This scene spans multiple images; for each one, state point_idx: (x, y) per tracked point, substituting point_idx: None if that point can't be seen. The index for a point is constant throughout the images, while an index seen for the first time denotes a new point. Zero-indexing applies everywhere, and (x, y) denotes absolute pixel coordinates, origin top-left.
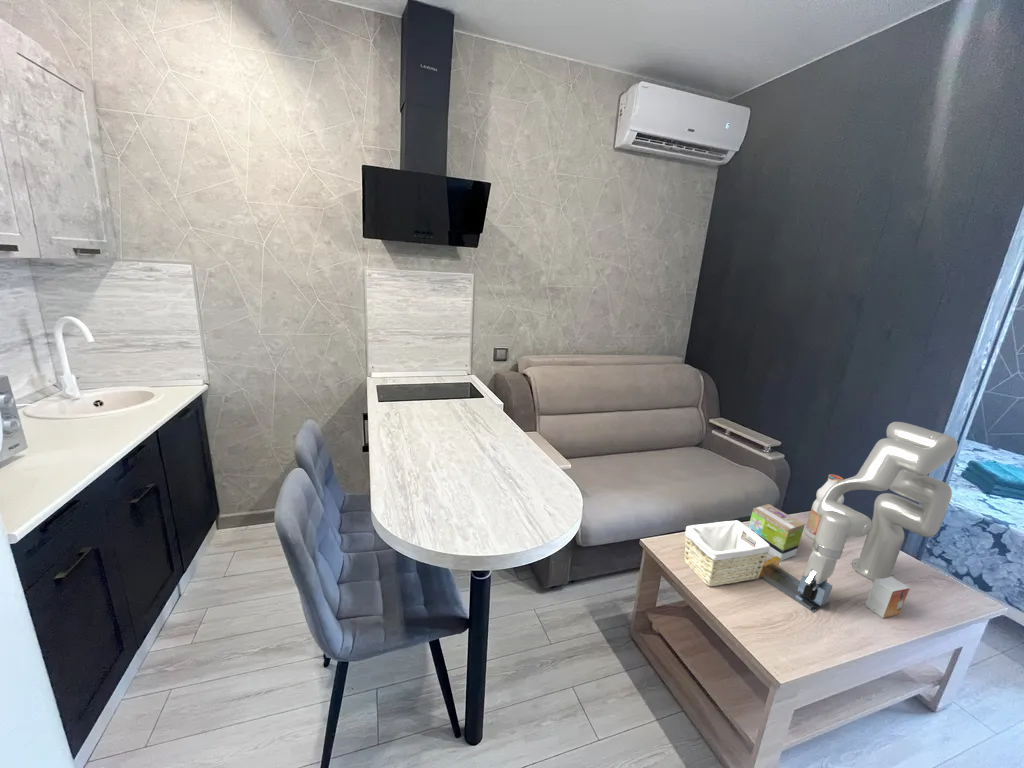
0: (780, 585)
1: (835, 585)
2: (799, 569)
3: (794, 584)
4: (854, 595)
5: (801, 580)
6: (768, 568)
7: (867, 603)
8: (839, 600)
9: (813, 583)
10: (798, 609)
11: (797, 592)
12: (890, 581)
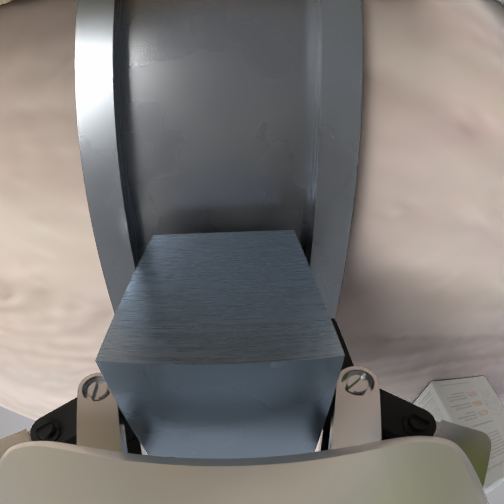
0: (97, 114)
1: (493, 273)
2: (495, 93)
3: (285, 140)
4: (471, 338)
5: (113, 328)
6: None
7: (433, 396)
8: (388, 342)
9: (146, 441)
10: (66, 292)
11: (201, 208)
12: (500, 482)
